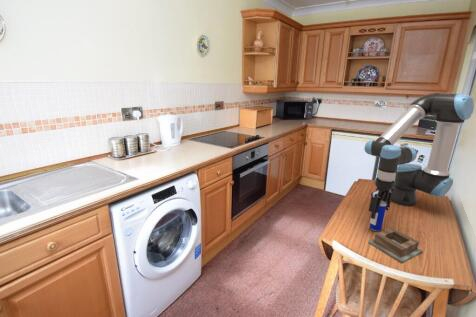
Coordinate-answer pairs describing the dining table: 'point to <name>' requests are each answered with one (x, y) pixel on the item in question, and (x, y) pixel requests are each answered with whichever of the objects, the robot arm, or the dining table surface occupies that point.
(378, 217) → the beverage can
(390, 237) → the socket block
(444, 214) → the dining table surface
